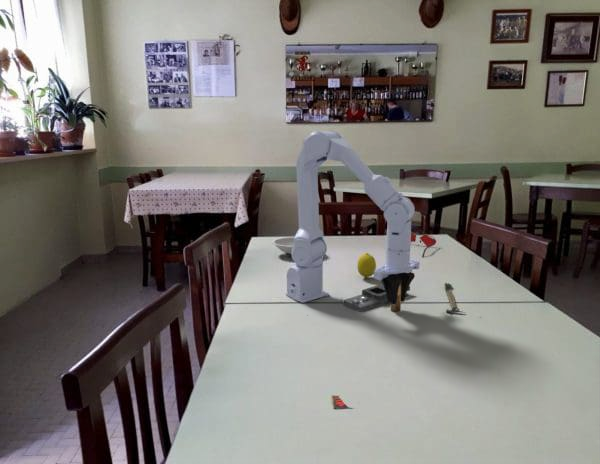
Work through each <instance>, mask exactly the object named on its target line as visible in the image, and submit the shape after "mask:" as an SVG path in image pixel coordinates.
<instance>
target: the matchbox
mask: <svg viewBox="0 0 600 464" xmlns="http://www.w3.org/2000/svg"><path fill="white" fill-rule="evenodd" d="M330 399H331V400H332V401H331V402H330V403H331V404H332V407H333V409H350V407H349V406H347V404H345V403H344V401H343V400H342V399H341V397H340V395H333V394H331V398H330ZM357 402H358V404H359V401H357Z"/></svg>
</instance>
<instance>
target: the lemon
mask: <svg viewBox="0 0 600 464" xmlns="http://www.w3.org/2000/svg"><path fill="white" fill-rule="evenodd" d="M356 266H357V267H356V268H357V272H358V273H359V275H360V276H362V277H364V278H365V279H368V278H369V277H372V276H374V271H375V270H377V262H376V259H375V257H374V256H373V255H372V254H370V253H368V252H365V253H364V254H362V255H360V257H359V258H358V260H357V265H356Z"/></svg>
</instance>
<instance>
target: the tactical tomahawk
mask: <svg viewBox="0 0 600 464" xmlns="http://www.w3.org/2000/svg"><path fill="white" fill-rule="evenodd" d="M452 287H453V285H452V284H451V283H449V282H448V283H447V282H445V283H444V289H445V293H446V297H447V299H448V303H449V305H450V307H451V309H446V311H445V312H446V314H449V315H451V314H452V315H459V316H467V314H466V313H462V311H460V308H457V304H456V301H455V296H454V294H453V291H452Z"/></svg>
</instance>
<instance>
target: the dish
mask: <svg viewBox="0 0 600 464" xmlns="http://www.w3.org/2000/svg"><path fill="white" fill-rule="evenodd" d="M294 237H295V236H290V237H289V236H287V237H278V238H276V239H273V240H271V243H272V244H273V245H275V246H276V248H277V249H278V250H280V251H282V252H283V253H285V254H291V251H292V248H293V246H294Z"/></svg>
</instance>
